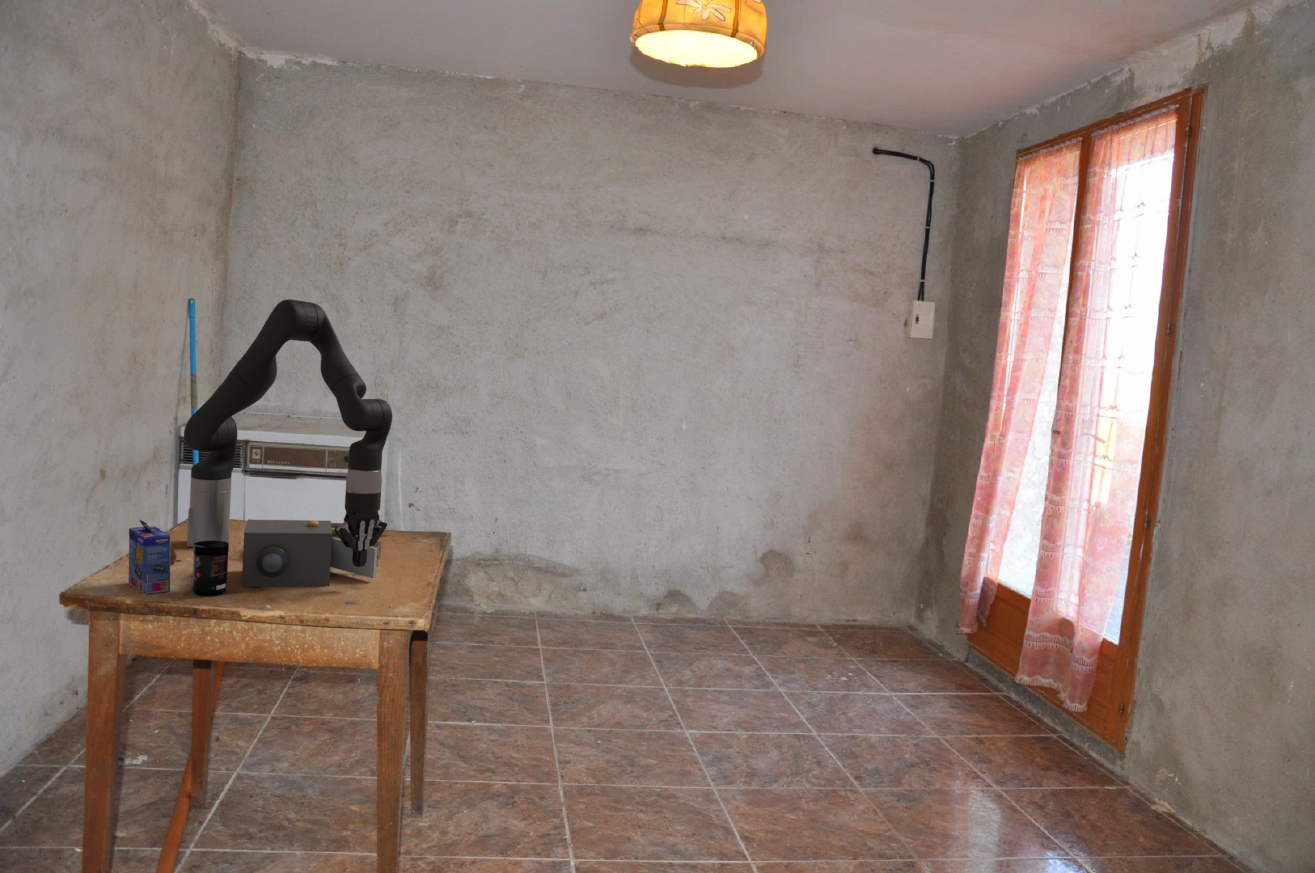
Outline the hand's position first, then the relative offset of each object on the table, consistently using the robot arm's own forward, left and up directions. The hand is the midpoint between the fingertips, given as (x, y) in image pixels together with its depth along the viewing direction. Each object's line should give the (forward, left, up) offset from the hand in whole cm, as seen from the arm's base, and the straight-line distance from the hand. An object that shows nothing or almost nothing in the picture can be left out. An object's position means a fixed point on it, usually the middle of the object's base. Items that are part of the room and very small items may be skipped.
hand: (359, 565), depth 210 cm
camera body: (-15, +9, -5) cm, 18 cm away
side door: (-1, +12, -4) cm, 13 cm away
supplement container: (-30, -1, -6) cm, 30 cm away
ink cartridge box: (-42, +3, -6) cm, 42 cm away
